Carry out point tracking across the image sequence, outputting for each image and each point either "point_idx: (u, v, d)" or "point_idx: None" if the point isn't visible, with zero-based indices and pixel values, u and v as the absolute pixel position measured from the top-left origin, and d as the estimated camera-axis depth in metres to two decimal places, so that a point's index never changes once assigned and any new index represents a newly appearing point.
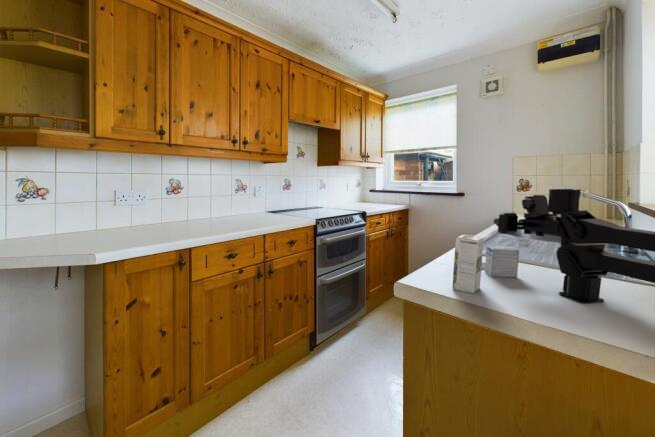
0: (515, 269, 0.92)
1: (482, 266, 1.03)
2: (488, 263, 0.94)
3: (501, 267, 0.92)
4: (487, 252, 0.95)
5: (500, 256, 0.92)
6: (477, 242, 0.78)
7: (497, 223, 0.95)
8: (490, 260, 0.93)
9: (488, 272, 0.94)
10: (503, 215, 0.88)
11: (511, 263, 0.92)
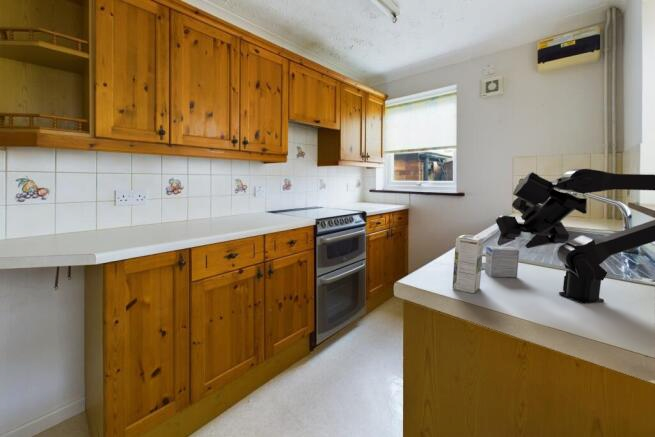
0: (515, 269, 0.92)
1: (482, 266, 1.03)
2: (488, 263, 0.94)
3: (501, 267, 0.92)
4: (487, 252, 0.95)
5: (500, 256, 0.92)
6: (477, 242, 0.78)
7: (501, 240, 0.86)
8: (490, 260, 0.93)
9: (488, 272, 0.94)
10: (499, 217, 0.83)
11: (511, 263, 0.92)
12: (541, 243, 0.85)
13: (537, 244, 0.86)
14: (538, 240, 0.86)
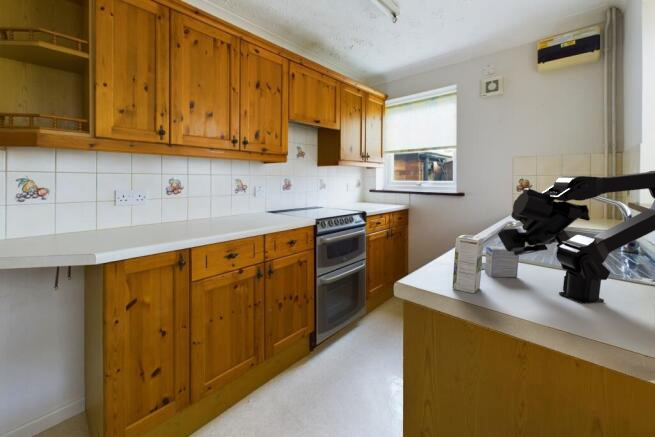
0: (515, 269, 0.92)
1: (482, 266, 1.03)
2: (488, 263, 0.94)
3: (501, 267, 0.92)
4: (487, 252, 0.95)
5: (500, 256, 0.92)
6: (477, 242, 0.78)
7: (518, 251, 0.86)
8: (490, 260, 0.93)
9: (488, 272, 0.94)
10: (501, 231, 0.81)
11: (511, 263, 0.92)
12: None
13: (527, 251, 0.85)
14: None
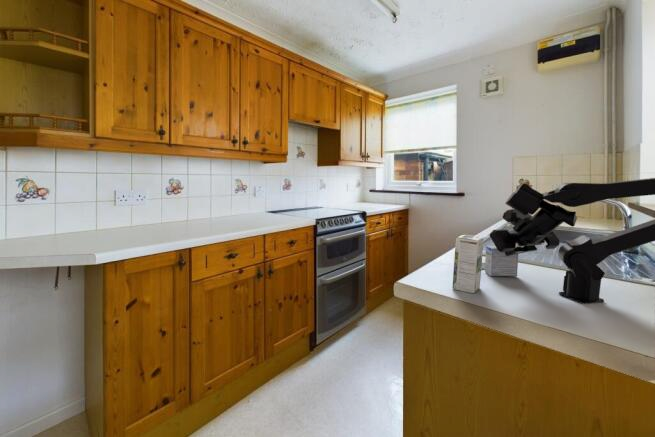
0: (515, 268, 0.92)
1: (482, 266, 1.03)
2: (488, 263, 0.94)
3: (501, 266, 0.92)
4: (487, 251, 0.95)
5: (500, 255, 0.92)
6: (477, 242, 0.78)
7: (509, 252, 0.89)
8: (490, 259, 0.93)
9: (488, 271, 0.94)
10: (492, 232, 0.84)
11: (511, 262, 0.92)
12: None
13: (517, 252, 0.88)
14: None
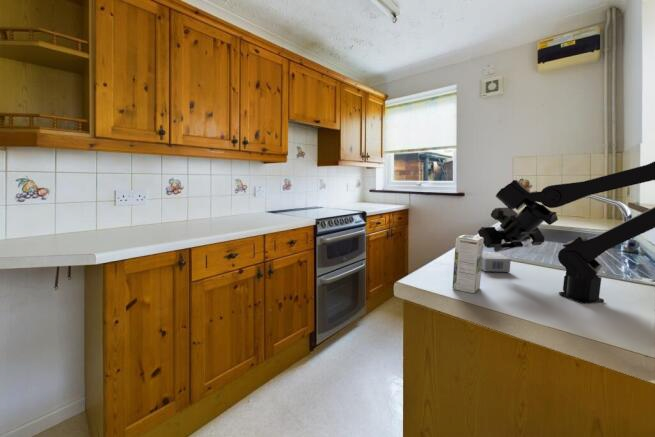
0: (504, 256, 0.98)
1: None
2: None
3: (490, 256, 0.99)
4: None
5: (484, 253, 1.03)
6: (477, 242, 0.78)
7: (497, 248, 0.94)
8: None
9: (483, 262, 0.98)
10: (480, 229, 0.89)
11: (498, 255, 1.00)
12: (508, 247, 0.92)
13: (505, 248, 0.93)
14: None
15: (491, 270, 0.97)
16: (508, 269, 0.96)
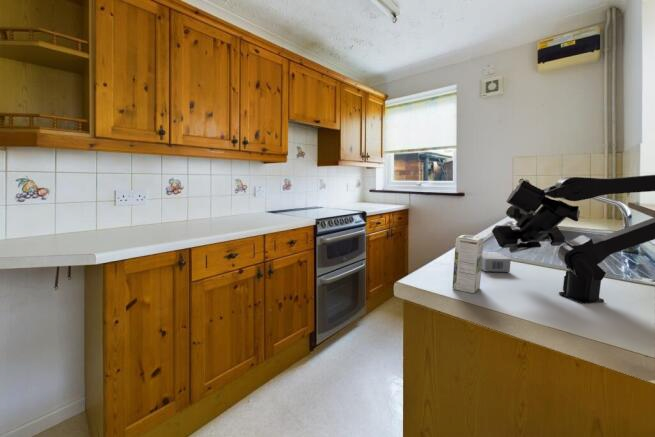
0: (504, 256, 0.98)
1: None
2: None
3: (490, 256, 0.99)
4: None
5: (484, 253, 1.03)
6: (477, 242, 0.78)
7: (513, 248, 0.88)
8: None
9: (483, 262, 0.98)
10: (495, 228, 0.84)
11: (498, 255, 1.00)
12: (524, 248, 0.86)
13: (521, 248, 0.87)
14: None
15: (491, 270, 0.97)
16: (508, 269, 0.96)
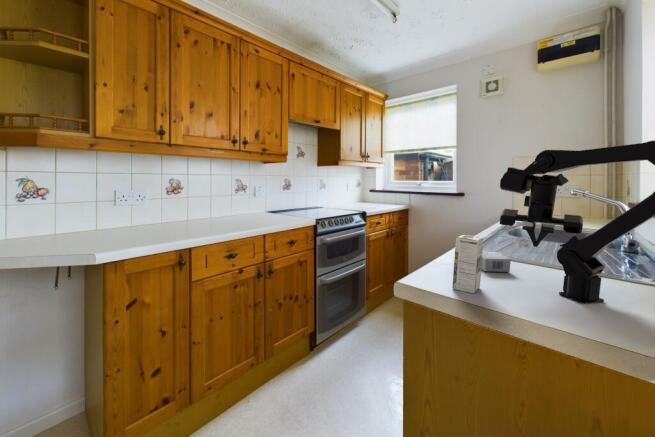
0: (504, 256, 0.98)
1: None
2: None
3: (490, 256, 0.99)
4: None
5: (484, 253, 1.03)
6: (477, 242, 0.78)
7: None
8: None
9: (483, 262, 0.98)
10: None
11: (498, 255, 1.00)
12: (538, 235, 0.85)
13: (538, 238, 0.86)
14: (538, 234, 0.86)
15: (491, 270, 0.97)
16: (508, 269, 0.96)
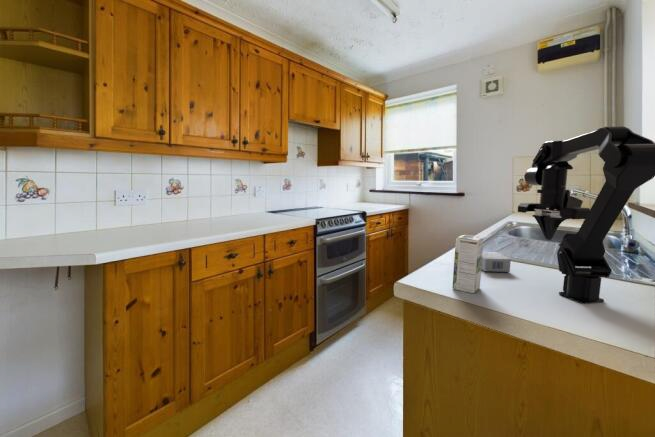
0: (504, 256, 0.98)
1: None
2: None
3: (490, 256, 0.99)
4: None
5: (484, 253, 1.03)
6: (477, 242, 0.78)
7: None
8: None
9: (483, 262, 0.98)
10: None
11: (498, 255, 1.00)
12: None
13: None
14: None
15: (491, 270, 0.97)
16: (508, 269, 0.96)
